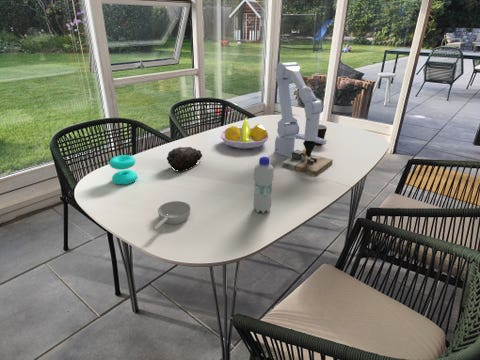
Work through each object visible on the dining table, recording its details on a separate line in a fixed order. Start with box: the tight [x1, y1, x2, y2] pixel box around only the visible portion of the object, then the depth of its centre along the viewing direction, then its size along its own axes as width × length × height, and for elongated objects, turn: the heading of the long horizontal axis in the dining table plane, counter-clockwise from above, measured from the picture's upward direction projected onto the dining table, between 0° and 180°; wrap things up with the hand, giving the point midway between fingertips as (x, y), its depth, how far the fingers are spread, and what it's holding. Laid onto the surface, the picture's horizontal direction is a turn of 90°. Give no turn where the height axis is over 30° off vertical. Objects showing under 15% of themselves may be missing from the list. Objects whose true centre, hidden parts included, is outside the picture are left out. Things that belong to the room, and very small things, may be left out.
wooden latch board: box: [281, 153, 334, 177], centre depth 152 cm, size 17×18×2 cm
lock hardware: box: [291, 149, 317, 164], centre depth 152 cm, size 11×5×3 cm, turn 52°
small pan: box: [153, 200, 191, 230], centre depth 105 cm, size 11×18×4 cm, turn 163°
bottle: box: [253, 156, 274, 214], centre depth 110 cm, size 7×7×20 cm
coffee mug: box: [315, 124, 328, 147], centre depth 179 cm, size 12×9×10 cm
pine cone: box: [166, 146, 203, 172], centre depth 148 cm, size 10×18×10 cm, turn 150°
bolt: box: [300, 149, 307, 160], centre depth 153 cm, size 7×2×5 cm, turn 52°
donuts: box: [108, 154, 138, 185], centre depth 133 cm, size 10×10×10 cm
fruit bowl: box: [220, 117, 270, 150], centre depth 176 cm, size 28×27×11 cm
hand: (308, 156), depth 151 cm, fingers closed
